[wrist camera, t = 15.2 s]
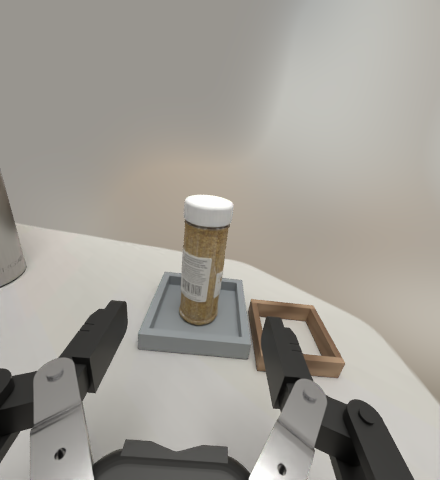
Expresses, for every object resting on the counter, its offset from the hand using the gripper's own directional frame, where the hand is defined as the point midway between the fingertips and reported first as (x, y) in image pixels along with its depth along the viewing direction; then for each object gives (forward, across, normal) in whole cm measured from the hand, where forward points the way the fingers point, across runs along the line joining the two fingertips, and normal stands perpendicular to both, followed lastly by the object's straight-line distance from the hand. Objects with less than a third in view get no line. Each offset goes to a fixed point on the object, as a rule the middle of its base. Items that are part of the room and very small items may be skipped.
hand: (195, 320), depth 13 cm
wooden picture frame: (+8, -10, +10) cm, 16 cm away
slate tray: (+11, 0, +10) cm, 14 cm away
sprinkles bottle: (+10, 0, +9) cm, 14 cm away
